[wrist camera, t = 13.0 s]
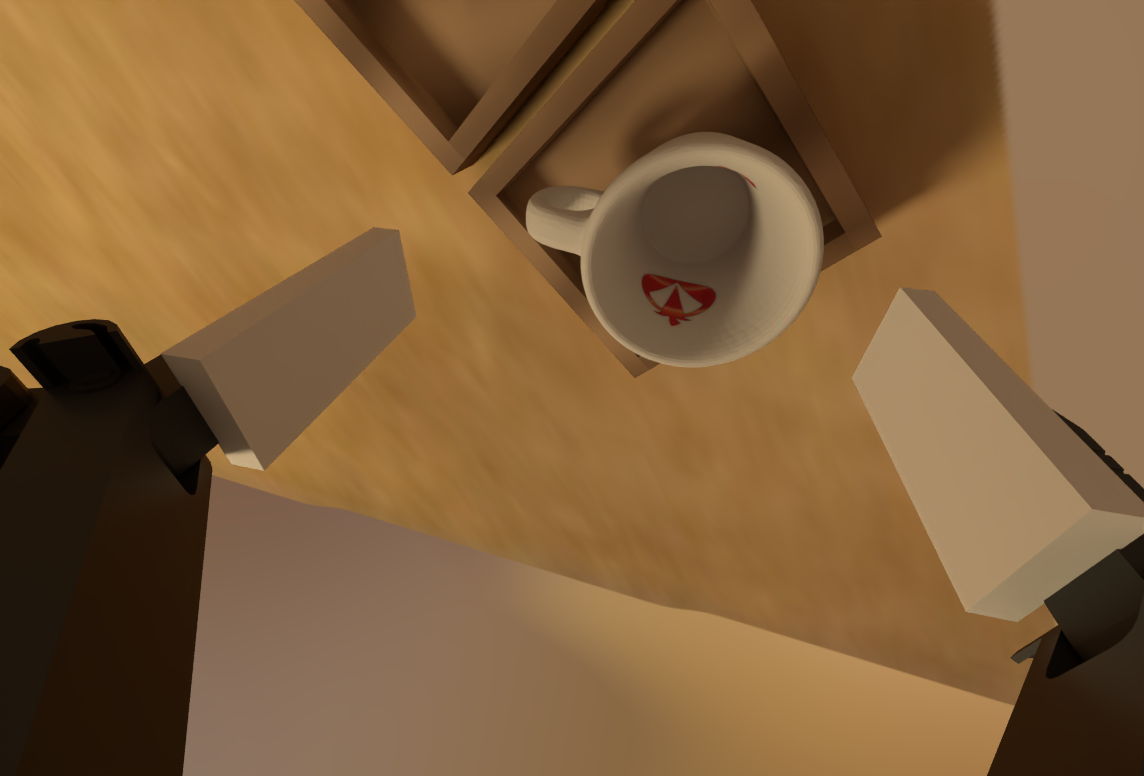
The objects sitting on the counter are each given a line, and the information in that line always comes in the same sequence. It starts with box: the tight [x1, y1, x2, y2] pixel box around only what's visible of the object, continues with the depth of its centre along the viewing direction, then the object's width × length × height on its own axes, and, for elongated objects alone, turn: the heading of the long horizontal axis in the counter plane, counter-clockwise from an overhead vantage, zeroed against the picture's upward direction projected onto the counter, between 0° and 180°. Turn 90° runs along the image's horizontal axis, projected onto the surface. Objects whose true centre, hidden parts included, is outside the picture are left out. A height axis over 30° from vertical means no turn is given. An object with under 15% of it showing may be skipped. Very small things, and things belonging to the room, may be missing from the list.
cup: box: [526, 132, 824, 367], centre depth 18 cm, size 11×8×8 cm
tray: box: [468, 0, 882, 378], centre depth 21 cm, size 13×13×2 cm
